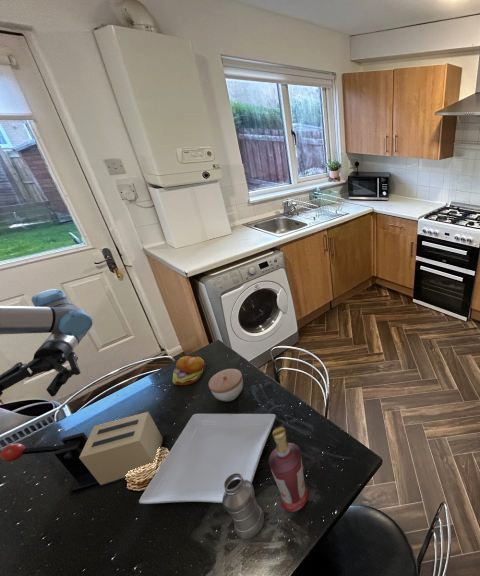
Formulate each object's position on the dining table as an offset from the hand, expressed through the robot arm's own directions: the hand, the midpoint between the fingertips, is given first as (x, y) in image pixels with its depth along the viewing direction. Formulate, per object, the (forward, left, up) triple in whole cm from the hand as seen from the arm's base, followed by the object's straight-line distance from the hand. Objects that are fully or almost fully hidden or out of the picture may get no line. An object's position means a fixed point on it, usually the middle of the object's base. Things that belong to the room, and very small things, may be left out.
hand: (17, 400), depth 81 cm
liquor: (+70, -21, -24) cm, 77 cm away
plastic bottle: (+60, -26, -24) cm, 70 cm away
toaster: (+22, -4, -24) cm, 33 cm away
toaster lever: (+7, -8, -12) cm, 16 cm away
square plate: (+46, -7, -24) cm, 53 cm away
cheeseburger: (+24, +29, -24) cm, 45 cm away
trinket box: (+42, +18, -24) cm, 52 cm away
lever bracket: (+12, -7, -24) cm, 28 cm away
